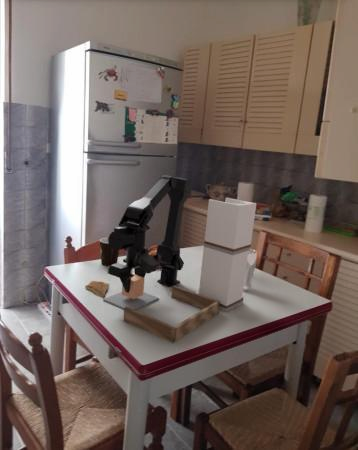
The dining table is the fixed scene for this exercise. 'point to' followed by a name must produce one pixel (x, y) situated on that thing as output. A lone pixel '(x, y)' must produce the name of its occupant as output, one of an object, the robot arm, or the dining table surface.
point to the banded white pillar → (226, 251)
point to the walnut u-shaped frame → (182, 328)
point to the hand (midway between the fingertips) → (132, 290)
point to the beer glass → (249, 269)
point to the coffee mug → (107, 253)
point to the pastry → (153, 253)
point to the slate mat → (130, 300)
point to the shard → (97, 287)
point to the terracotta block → (135, 287)
